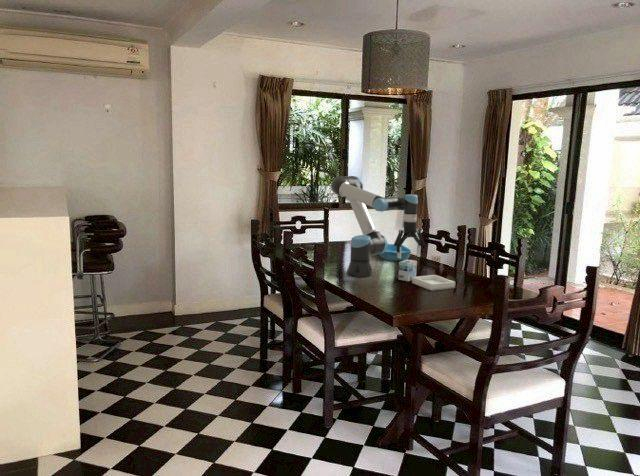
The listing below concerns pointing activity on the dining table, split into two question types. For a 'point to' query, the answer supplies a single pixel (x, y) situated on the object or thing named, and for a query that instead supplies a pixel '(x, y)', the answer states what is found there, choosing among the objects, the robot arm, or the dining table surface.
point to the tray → (433, 282)
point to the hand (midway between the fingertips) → (408, 257)
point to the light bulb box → (407, 270)
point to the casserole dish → (395, 253)
